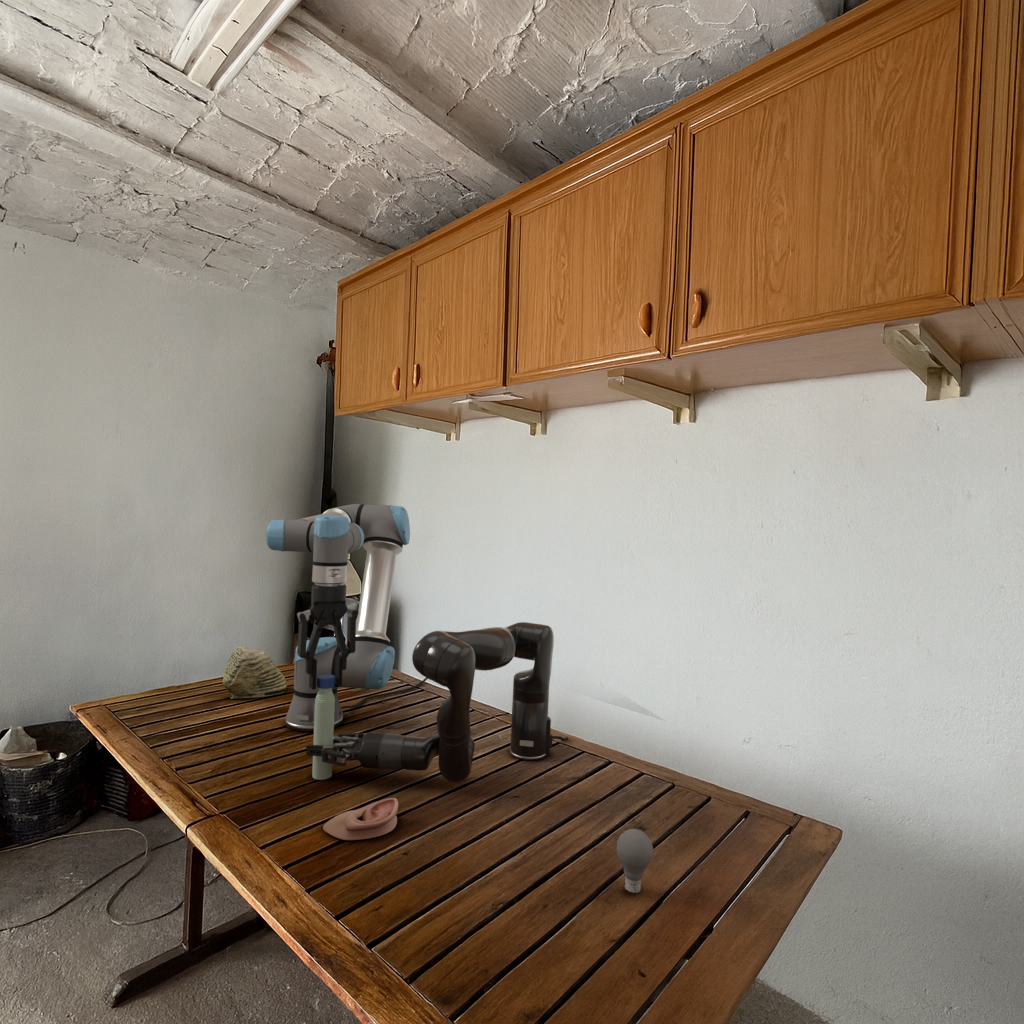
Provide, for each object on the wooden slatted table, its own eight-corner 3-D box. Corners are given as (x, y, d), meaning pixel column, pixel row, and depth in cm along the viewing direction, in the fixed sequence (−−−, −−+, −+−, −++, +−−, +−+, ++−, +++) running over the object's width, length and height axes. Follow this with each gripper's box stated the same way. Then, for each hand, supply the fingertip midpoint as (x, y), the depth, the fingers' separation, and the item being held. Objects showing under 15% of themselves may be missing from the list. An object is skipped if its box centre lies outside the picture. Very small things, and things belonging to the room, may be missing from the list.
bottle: (307, 776, 143) (311, 679, 143) (322, 770, 147) (326, 675, 146) (321, 781, 141) (325, 682, 140) (336, 774, 145) (339, 678, 144)
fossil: (218, 695, 195) (220, 647, 195) (278, 685, 208) (279, 640, 207) (228, 703, 189) (230, 653, 188) (289, 692, 201) (290, 645, 201)
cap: (334, 688, 142) (335, 678, 142) (316, 689, 141) (316, 679, 141) (334, 683, 146) (334, 673, 146) (316, 684, 145) (316, 674, 145)
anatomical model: (315, 814, 118) (343, 787, 129) (314, 835, 118) (343, 807, 129) (382, 825, 115) (405, 796, 127) (381, 846, 116) (404, 816, 127)
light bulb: (610, 879, 108) (613, 822, 108) (644, 879, 109) (647, 822, 109) (619, 902, 102) (622, 840, 102) (655, 901, 103) (658, 840, 103)
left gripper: (292, 587, 135) (288, 696, 135) (374, 584, 145) (370, 685, 145) (283, 583, 141) (279, 686, 141) (362, 580, 151) (358, 677, 152)
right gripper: (394, 723, 150) (323, 718, 151) (376, 746, 135) (298, 741, 137) (392, 755, 150) (322, 749, 151) (375, 781, 135) (297, 775, 137)
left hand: (325, 685), depth 143 cm, fingers open, 5 cm apart
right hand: (311, 745), depth 144 cm, fingers closed on bottle, 4 cm apart
